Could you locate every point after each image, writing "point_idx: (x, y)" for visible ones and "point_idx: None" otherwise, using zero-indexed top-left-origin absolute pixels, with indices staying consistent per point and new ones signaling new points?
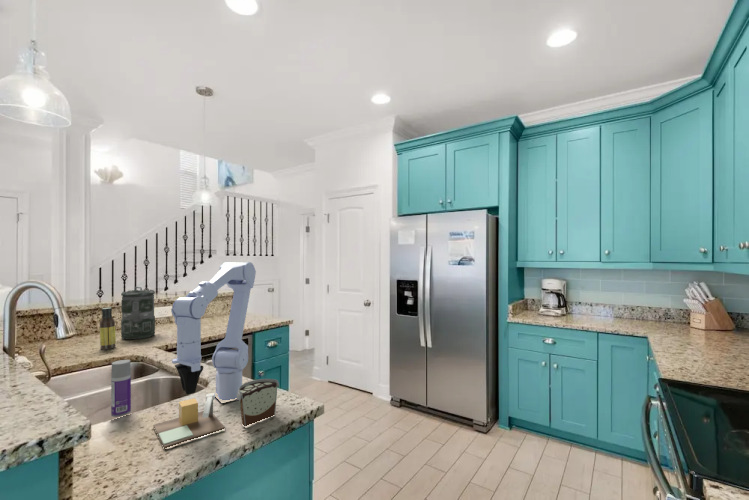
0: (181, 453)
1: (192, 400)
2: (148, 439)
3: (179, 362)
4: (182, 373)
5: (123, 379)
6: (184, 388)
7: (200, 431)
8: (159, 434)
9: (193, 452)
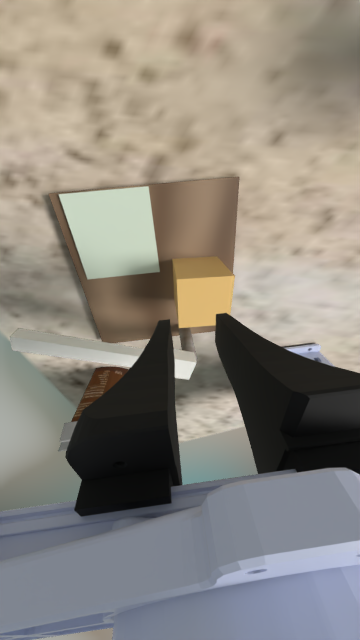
0: (20, 237)
1: (212, 316)
2: (162, 151)
3: (164, 546)
4: (80, 417)
5: None
6: (219, 322)
7: (106, 296)
8: (137, 187)
9: (16, 265)
